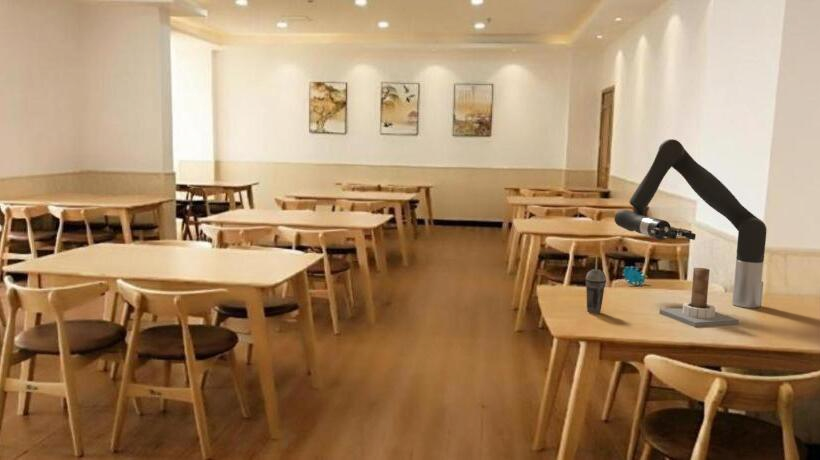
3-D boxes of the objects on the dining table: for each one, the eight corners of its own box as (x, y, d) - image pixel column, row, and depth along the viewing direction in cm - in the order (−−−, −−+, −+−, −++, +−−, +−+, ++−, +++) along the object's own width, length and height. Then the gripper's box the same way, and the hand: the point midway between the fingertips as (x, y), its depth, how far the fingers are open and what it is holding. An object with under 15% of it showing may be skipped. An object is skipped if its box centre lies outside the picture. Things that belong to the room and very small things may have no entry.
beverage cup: (605, 311, 241) (609, 256, 239) (602, 315, 235) (606, 259, 232) (585, 308, 244) (588, 254, 242) (581, 313, 238) (584, 257, 235)
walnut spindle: (698, 312, 238) (702, 267, 236) (709, 315, 233) (712, 270, 231) (687, 312, 237) (690, 267, 235) (697, 316, 232) (700, 270, 230)
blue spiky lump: (625, 282, 285) (622, 263, 292) (619, 290, 290) (616, 270, 296) (650, 286, 287) (646, 267, 293) (643, 293, 291) (639, 274, 298)
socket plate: (700, 311, 246) (702, 298, 246) (738, 324, 229) (739, 311, 229) (659, 313, 241) (660, 301, 240) (694, 327, 224) (695, 313, 223)
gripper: (641, 218, 254) (670, 226, 239) (671, 218, 259) (702, 226, 244) (638, 237, 255) (667, 246, 240) (668, 238, 260) (699, 247, 245)
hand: (685, 236), depth 242 cm, fingers open, 8 cm apart
